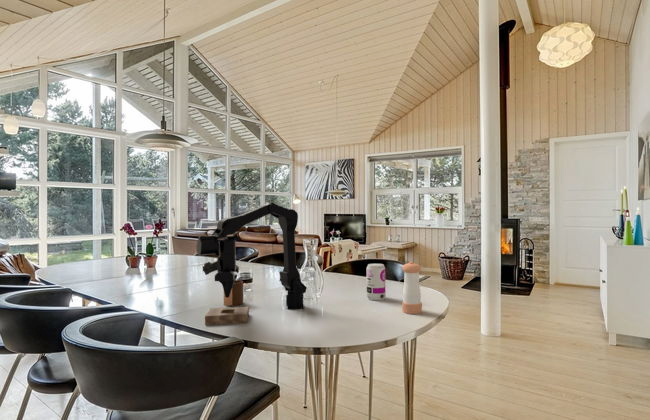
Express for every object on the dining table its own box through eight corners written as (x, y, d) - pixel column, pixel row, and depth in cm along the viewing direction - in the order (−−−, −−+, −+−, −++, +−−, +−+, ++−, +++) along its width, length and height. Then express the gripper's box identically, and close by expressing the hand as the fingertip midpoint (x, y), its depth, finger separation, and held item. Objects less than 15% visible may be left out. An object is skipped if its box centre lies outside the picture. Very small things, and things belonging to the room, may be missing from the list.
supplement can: (388, 297, 159) (388, 264, 159) (380, 301, 152) (380, 266, 152) (371, 295, 163) (371, 262, 163) (363, 299, 156) (363, 265, 156)
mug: (235, 309, 142) (235, 285, 142) (217, 309, 143) (217, 285, 143) (245, 301, 154) (245, 280, 154) (229, 301, 155) (228, 279, 155)
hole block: (248, 314, 135) (248, 306, 135) (246, 322, 125) (246, 314, 125) (210, 316, 133) (210, 308, 133) (205, 324, 123) (205, 316, 123)
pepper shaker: (425, 311, 137) (425, 261, 137) (414, 315, 132) (414, 263, 132) (409, 307, 142) (408, 259, 142) (398, 311, 137) (398, 261, 137)
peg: (232, 303, 131) (232, 276, 131) (231, 305, 128) (231, 277, 128) (224, 303, 130) (224, 276, 130) (223, 305, 127) (222, 277, 127)
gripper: (209, 251, 137) (209, 291, 137) (198, 257, 119) (199, 304, 119) (239, 250, 139) (239, 290, 139) (232, 256, 120) (233, 302, 120)
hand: (227, 296), depth 129 cm, fingers closed on peg, 3 cm apart
